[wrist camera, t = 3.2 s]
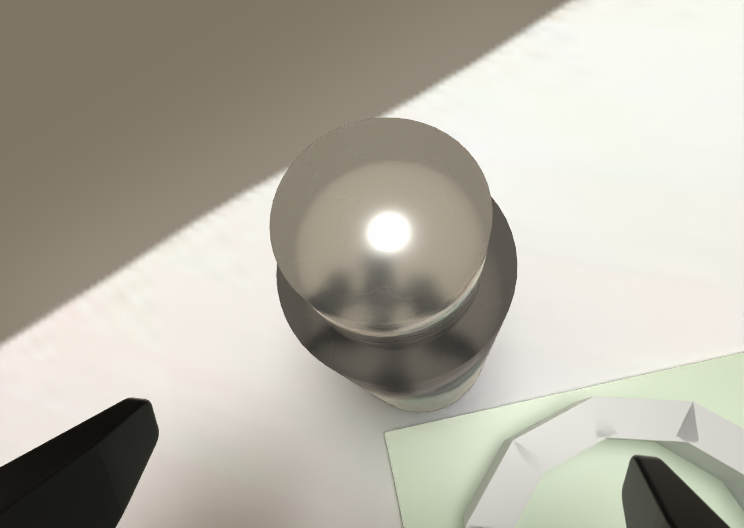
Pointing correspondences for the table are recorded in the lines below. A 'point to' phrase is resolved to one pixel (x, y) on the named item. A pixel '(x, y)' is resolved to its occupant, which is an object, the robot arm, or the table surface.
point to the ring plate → (571, 481)
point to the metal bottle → (393, 260)
